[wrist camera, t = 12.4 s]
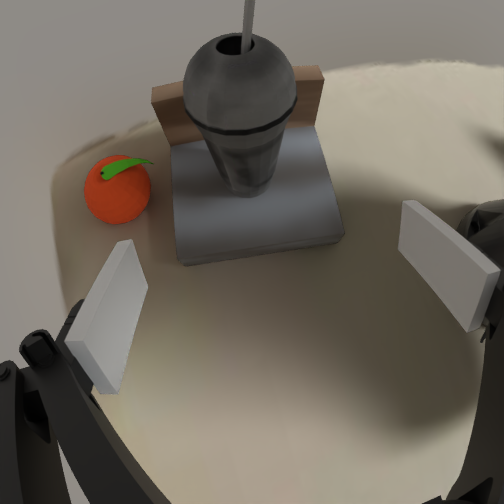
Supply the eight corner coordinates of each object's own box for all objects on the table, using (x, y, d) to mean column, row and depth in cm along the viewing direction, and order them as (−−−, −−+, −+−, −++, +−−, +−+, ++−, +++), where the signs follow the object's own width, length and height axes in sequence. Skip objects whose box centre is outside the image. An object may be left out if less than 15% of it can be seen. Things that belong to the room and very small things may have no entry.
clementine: (156, 161, 33) (136, 123, 26) (177, 210, 31) (156, 178, 25) (97, 193, 32) (66, 163, 26) (111, 244, 31) (77, 221, 24)
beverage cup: (198, 162, 29) (137, -22, 10) (266, 135, 30) (265, -52, 11) (227, 225, 28) (168, 29, 8) (300, 193, 28) (344, -7, 9)
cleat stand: (176, 146, 33) (152, 87, 24) (306, 128, 34) (318, 65, 24) (185, 266, 30) (150, 233, 20) (337, 243, 30) (368, 201, 20)
